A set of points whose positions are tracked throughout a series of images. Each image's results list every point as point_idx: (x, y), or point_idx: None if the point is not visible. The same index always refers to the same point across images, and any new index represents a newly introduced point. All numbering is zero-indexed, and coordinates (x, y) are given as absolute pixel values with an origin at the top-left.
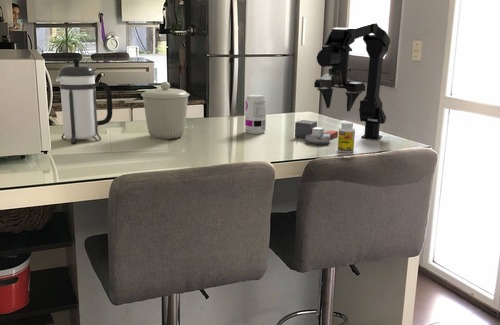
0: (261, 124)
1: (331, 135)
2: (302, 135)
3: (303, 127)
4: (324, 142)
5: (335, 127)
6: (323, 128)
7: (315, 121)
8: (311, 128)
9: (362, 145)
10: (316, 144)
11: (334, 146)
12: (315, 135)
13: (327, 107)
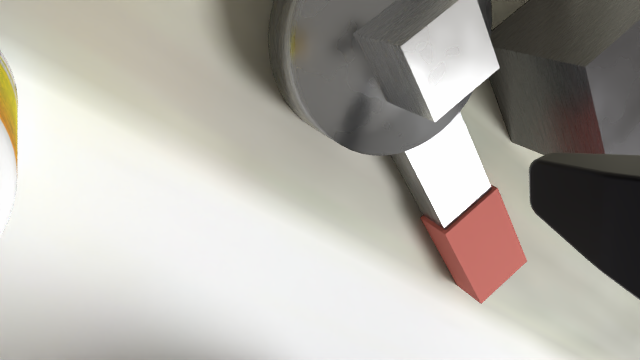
0: None
1: (437, 223)
2: (542, 7)
3: (598, 18)
4: (279, 44)
5: (597, 348)
6: (429, 114)
7: None
8: (551, 79)
9: (140, 350)
10: None
11: (187, 103)
12: (398, 5)
13: (540, 161)
